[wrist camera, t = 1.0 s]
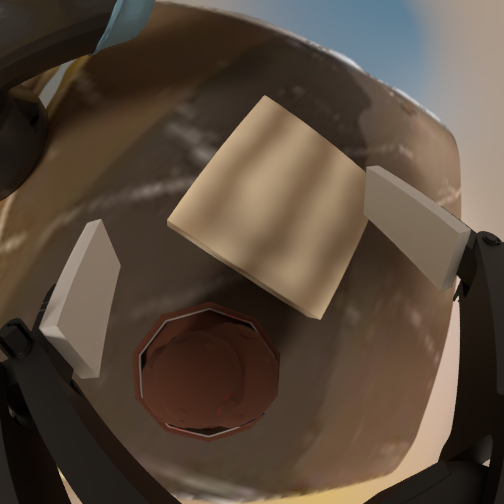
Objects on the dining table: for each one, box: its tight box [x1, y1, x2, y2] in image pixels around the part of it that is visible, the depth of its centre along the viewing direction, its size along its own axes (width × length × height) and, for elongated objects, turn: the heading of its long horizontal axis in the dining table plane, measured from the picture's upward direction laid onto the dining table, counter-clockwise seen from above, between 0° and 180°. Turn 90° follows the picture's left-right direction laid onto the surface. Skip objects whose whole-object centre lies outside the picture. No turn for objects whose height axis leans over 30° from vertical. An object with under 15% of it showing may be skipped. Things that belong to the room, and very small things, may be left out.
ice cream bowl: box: [133, 302, 280, 442], centre depth 21 cm, size 11×11×15 cm
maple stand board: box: [167, 95, 369, 320], centre depth 31 cm, size 18×18×3 cm
